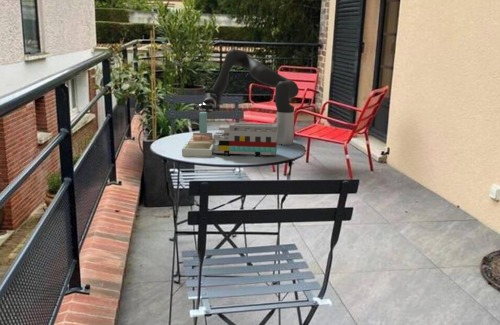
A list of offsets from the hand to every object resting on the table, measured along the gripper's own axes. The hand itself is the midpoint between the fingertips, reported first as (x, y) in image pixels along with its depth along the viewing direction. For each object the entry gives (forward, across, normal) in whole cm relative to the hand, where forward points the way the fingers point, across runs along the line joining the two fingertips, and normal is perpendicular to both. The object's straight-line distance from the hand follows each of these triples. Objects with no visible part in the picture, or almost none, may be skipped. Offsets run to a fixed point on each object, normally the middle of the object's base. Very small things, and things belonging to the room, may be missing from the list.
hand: (205, 109), depth 268 cm
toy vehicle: (+32, +23, +17) cm, 43 cm away
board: (+16, 0, +17) cm, 24 cm away
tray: (+31, 0, +17) cm, 35 cm away
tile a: (+18, +2, +13) cm, 22 cm away
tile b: (+18, -2, +13) cm, 22 cm away
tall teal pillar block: (+11, 0, +13) cm, 17 cm away
